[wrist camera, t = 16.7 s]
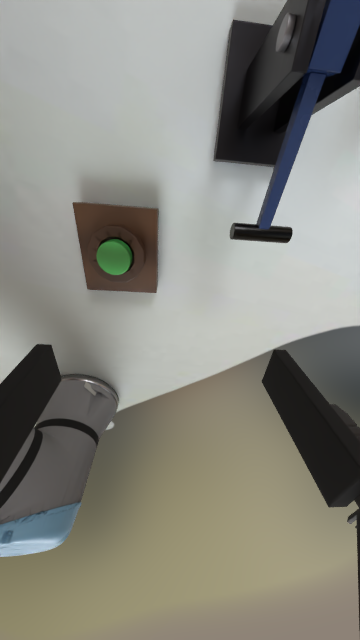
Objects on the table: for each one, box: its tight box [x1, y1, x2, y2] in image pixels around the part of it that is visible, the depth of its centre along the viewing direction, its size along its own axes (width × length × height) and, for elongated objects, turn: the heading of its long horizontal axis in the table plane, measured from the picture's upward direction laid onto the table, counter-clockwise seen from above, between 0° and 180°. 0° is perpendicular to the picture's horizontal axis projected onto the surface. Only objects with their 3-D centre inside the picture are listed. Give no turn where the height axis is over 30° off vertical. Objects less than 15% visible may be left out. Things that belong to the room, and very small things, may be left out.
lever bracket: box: [214, 0, 360, 167], centre depth 17 cm, size 10×9×13 cm
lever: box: [230, 0, 360, 243], centre depth 17 cm, size 14×6×2 cm, turn 176°
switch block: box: [73, 202, 159, 293], centre depth 27 cm, size 11×10×4 cm
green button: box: [96, 239, 133, 275], centre depth 25 cm, size 4×4×2 cm
